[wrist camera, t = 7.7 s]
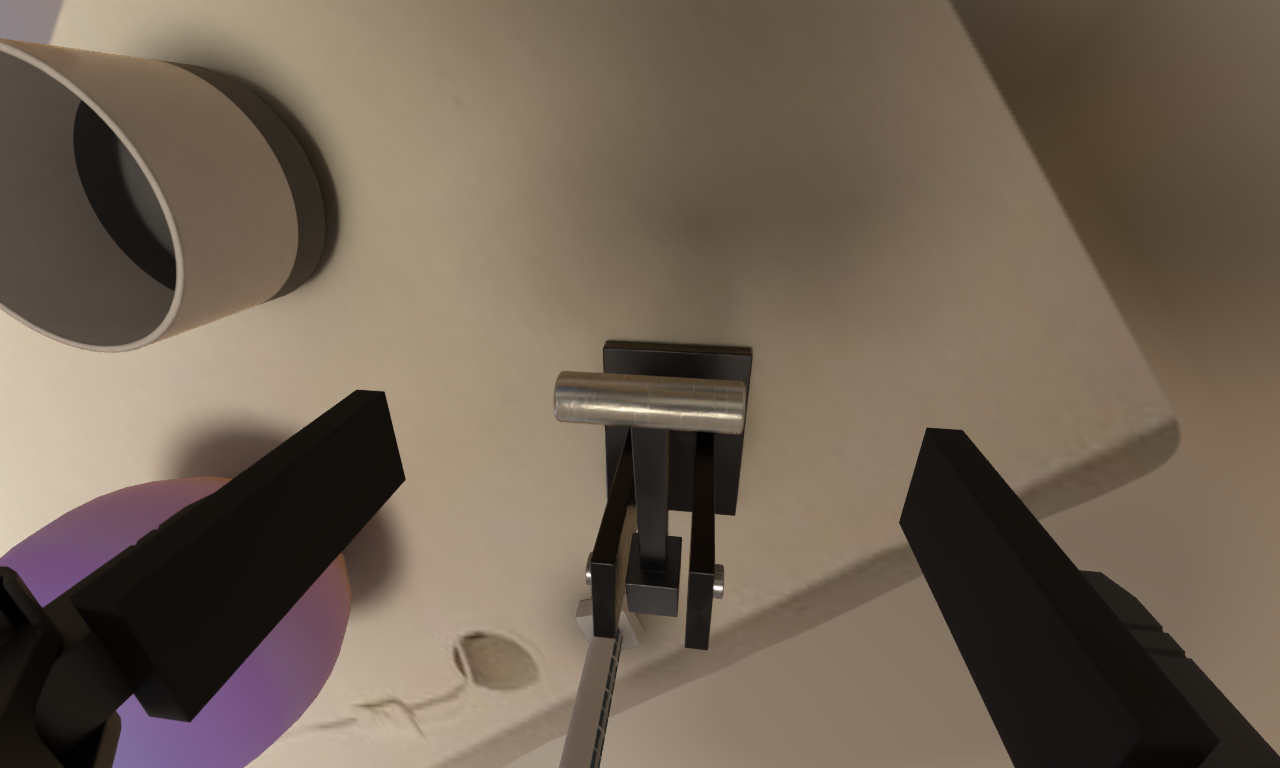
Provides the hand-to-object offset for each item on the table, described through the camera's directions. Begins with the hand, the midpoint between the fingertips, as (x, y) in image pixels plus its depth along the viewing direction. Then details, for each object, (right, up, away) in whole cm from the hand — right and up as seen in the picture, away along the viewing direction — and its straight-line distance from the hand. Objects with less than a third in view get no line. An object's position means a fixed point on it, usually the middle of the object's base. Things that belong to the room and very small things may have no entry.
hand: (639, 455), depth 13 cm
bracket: (+2, -1, +22) cm, 22 cm away
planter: (-24, +14, +19) cm, 34 cm away
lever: (+1, -2, +7) cm, 8 cm away
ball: (-29, -10, +31) cm, 44 cm away
